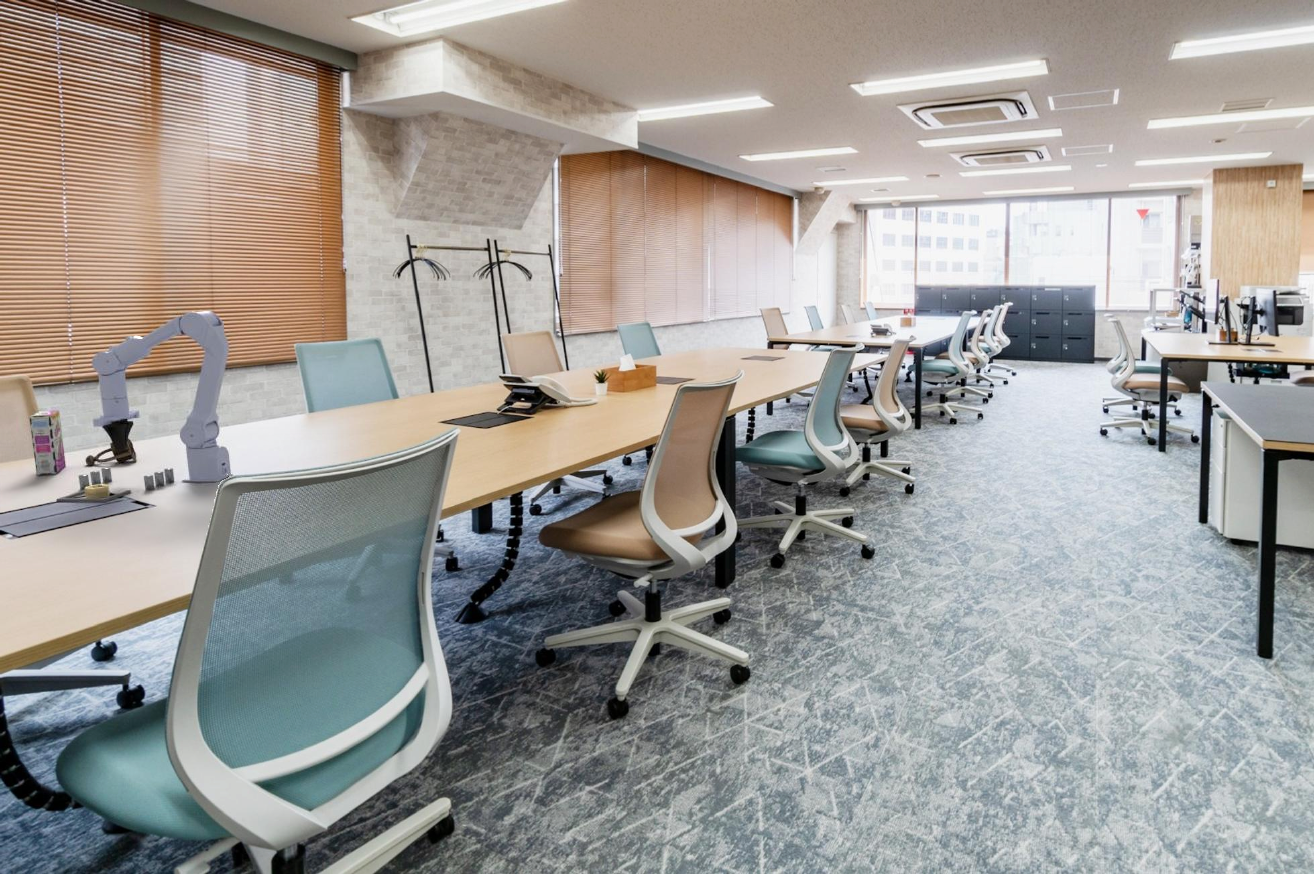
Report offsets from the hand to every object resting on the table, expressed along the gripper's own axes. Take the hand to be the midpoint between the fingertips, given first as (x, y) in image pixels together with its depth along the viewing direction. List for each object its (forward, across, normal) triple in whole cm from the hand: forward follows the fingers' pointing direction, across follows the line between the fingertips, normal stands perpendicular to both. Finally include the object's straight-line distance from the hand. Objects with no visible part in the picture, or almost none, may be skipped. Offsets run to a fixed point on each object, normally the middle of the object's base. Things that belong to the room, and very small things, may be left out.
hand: (120, 449), depth 216 cm
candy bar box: (+9, -10, -28) cm, 31 cm away
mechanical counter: (+9, -22, -19) cm, 31 cm away
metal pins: (+8, +5, +4) cm, 11 cm away
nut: (+8, +16, +4) cm, 19 cm away
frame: (+8, +16, +4) cm, 19 cm away
